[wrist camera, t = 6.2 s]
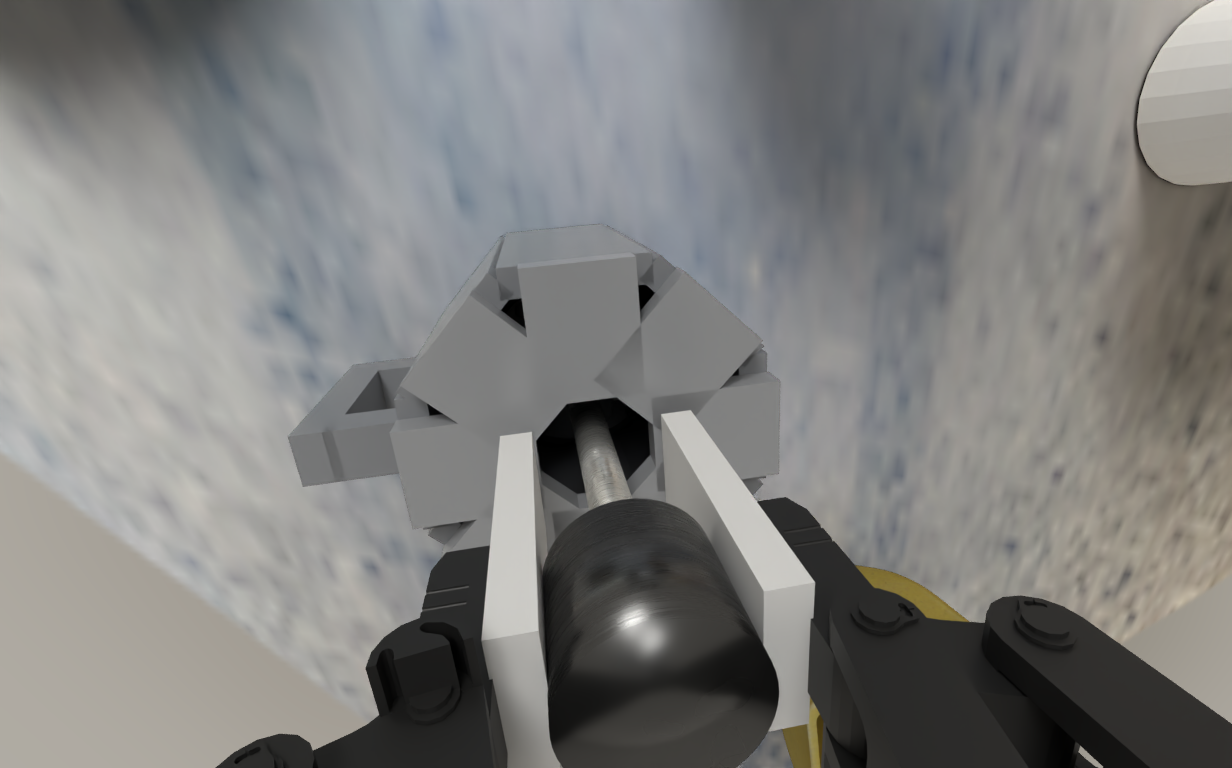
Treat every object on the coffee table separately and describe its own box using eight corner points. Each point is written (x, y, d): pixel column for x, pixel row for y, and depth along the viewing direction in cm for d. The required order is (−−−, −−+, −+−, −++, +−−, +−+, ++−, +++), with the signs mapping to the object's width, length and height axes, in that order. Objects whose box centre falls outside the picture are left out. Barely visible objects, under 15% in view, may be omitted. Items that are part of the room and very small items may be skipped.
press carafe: (340, 247, 23) (195, 302, 13) (675, 215, 24) (782, 240, 14) (395, 474, 26) (315, 659, 16) (685, 434, 28) (777, 579, 18)
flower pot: (746, 686, 34) (820, 853, 25) (730, 565, 31) (807, 710, 22) (887, 647, 35) (1004, 798, 26) (885, 525, 31) (1017, 651, 23)
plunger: (478, 290, 22) (369, 557, 6) (644, 272, 23) (907, 473, 7) (503, 442, 24) (468, 915, 9) (654, 421, 25) (870, 823, 9)
